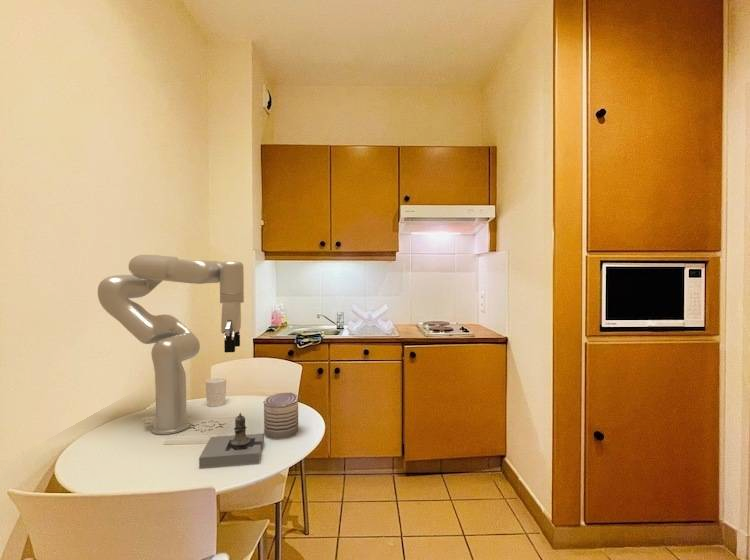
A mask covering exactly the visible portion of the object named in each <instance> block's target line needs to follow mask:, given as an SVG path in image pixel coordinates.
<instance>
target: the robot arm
mask: <svg viewBox="0 0 750 560" xmlns="http://www.w3.org/2000/svg"><path fill="white" fill-rule="evenodd" d="M128 271H129V272H130V274H118V275H117V274H116V275H111V276H107V277H105V278H104V279H102V280H101V281H100V282H99V284H98V287H97V297H98V301H99V303H100V305H101V307H102V308H103V310H105V311H106V313H108V315H110V316H111V317H112V318H114V319H115V320H116V321H117V322H119V324H121V325H122V326H123V327H124V328H125V329H126V330H127V332H129V334H131V335H132V336H134V338H135V339H137V340H138V341H139V342H140V343H141V344H143V345H144V344H145V345H150V344H151V345H152V344H153V346H152V349H151V355H150V356H151V360H152V364H153V365H152V366H153V371H154V384H155V414H154V415H152V416H144V417H143V419H142V422H143V424H144V425H150V426H151V427H150V432H151V433H152V434H154V435H155V434H156V435H171V434H175V433H176V434H177V433H180V432H184V431H186V430H188V429H189V428H190V427H191V426H192V420H191V419H190V418H187V417H188V416H187V376H186V371H185V368H184V366H183V361H187V360H189V359H191V358H194V357H195V356H197V355H198V353H199V351H200V350H201V344H200V341H199V339H198V337H197V336H196V335H195V334H194V332H192V331H191V330H190V329H189V328H188V327H186V325H185V324H183V323H182V321H180V320H179V319H178V318H176V317H175V316H174V315H172V314H171V315H170V314H158V315H154V314H151V313H150V312H148V311H147V310H146V309H145V308H144V307H143V306H142V305H141V304H138V303H137V302H135V301H133V300H131V299H138V298H143V297H145V296H147V295H148V294H150V293H151V292H152V291H153V290H154V289H155V288H156V287H157V286H159V285H160V284H161V283H162V282H163V281H165V282H172V283H183V284H184V283H185V284H194V285H195V284H196V285H197V284H198V285H199V284H200V285H202V284H217V283H219V303H220V304H222V306H221V307H222V308H221V321H220V322H221V324H220V327H221V329H220V332H221V334H224V340H223V341H224V345H223V346H224V348H223V349H224V353H235V352H236V347H240V346H241V335H240V334H241V333H240V332H241V331H240V330H241V328H242V325H241V322H242V311H241V306H242V305H241V304H242V303H245V298H244V297H245V294H244V292H245V291H244V288H245V287H244V286H245V285H244V279H245V278H244V264H243V262H241V261H232V260H231V261H228V260H227V261H218V260H196V259H195V260H194V259H179V258H178V257H177V256H167V255H166V256H165V255H157V254H139V255H136V256H134V257H133V258H131V259H130V260H129V262H128Z"/></svg>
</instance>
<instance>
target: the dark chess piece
mask: <svg viewBox="0 0 750 560" xmlns="http://www.w3.org/2000/svg"><path fill="white" fill-rule="evenodd" d="M234 421H235V422H234V423H235V425H234V426H235V427H234V428H233V431H234V435H235V438H234V439H232V440H231V441H230V444H231V446H232V448H233V449H234V450H244V449H247V447H248V446H249V443H250V441H251V439H250V438H249V437H246V435H247V434H246V429H247V426H246V417H245V415H242V413H241V412H240V413H239V414H238V416H236V417H235V419H234Z"/></svg>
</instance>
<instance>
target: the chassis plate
mask: <svg viewBox="0 0 750 560" xmlns="http://www.w3.org/2000/svg"><path fill="white" fill-rule="evenodd" d="M246 437H249V438H250V439H251V441H250V443H249V446H248V447H247V449H244V450H234V449H233V448H232V446H231V444H230V441H231V440H232V439H234V438H235V434H234V435H219V436H210V438H209V440H208V441H207V443H206V445H205V446H204V448H203V450H202V452H201V454H200V455H199V457H198V464H199V466H198V467H199V469H207V468H208V469H209V468H223V467H224V468H225V467H234V466H247V465H249V466H250V465H259V464H260V461H261V457H262V453H263V449H264V445H265V435H264V432H263V433H249V434H246Z"/></svg>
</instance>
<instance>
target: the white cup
mask: <svg viewBox="0 0 750 560" xmlns="http://www.w3.org/2000/svg"><path fill="white" fill-rule="evenodd" d="M205 392H206V393H205V394H206V401H207V406H208V407H209V408H210V407H211V408H212V407H215V408H216V407H221V406H223V405H225V404H226V396H227V395H226V394H227V378H225V377H222V376H220V377H219V376H218V377H211V378H208V379H206V380H205Z"/></svg>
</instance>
